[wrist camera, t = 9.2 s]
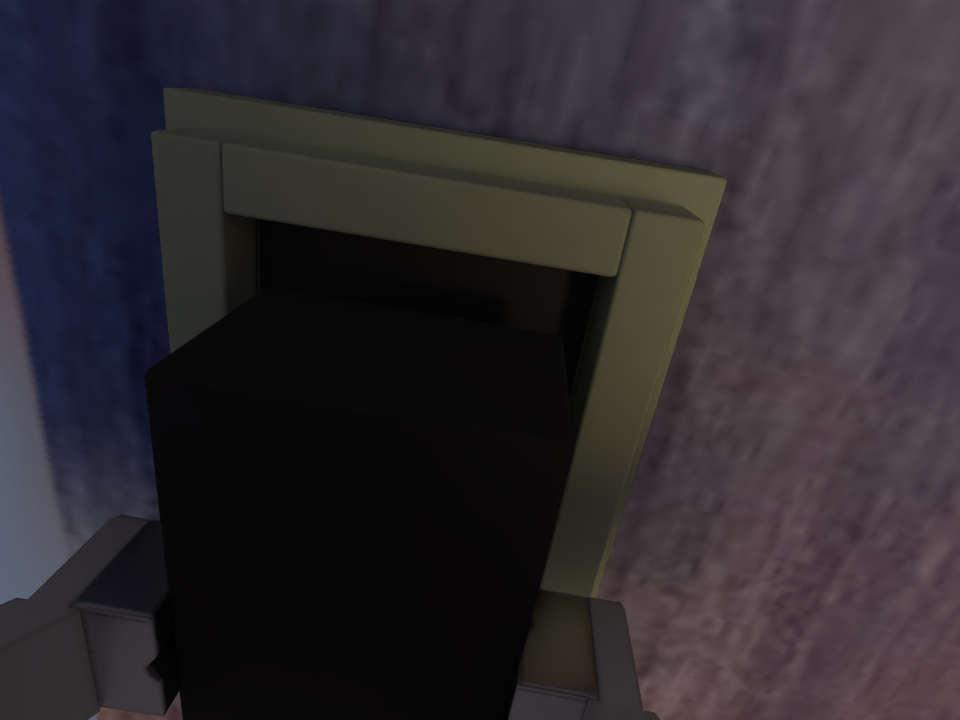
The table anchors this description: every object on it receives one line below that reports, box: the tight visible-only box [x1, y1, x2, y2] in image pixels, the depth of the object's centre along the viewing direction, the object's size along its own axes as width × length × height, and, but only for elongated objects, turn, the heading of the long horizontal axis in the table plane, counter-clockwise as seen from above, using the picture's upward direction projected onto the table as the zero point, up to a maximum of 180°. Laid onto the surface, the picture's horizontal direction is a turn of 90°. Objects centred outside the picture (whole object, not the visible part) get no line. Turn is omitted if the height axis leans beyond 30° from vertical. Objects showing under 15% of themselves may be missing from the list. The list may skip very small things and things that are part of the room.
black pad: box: [144, 287, 575, 720], centre depth 9 cm, size 8×4×3 cm, turn 172°
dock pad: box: [151, 87, 727, 598], centre depth 11 cm, size 12×9×2 cm
